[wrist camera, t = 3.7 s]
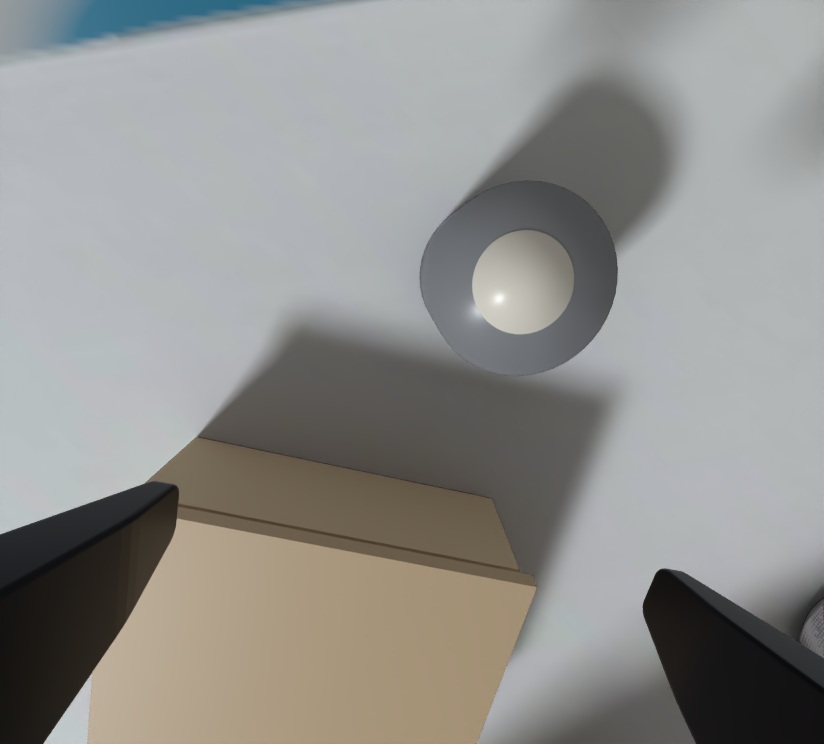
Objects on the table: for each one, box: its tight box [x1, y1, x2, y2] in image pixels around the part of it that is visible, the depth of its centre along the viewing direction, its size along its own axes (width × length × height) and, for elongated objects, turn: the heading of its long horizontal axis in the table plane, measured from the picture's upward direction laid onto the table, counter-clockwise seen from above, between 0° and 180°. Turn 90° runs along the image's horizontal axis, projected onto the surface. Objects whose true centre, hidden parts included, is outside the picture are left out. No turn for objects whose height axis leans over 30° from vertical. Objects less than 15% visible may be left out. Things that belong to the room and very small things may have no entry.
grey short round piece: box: [420, 181, 618, 376], centre depth 16 cm, size 6×6×5 cm
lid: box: [87, 507, 537, 744], centre depth 17 cm, size 15×14×1 cm
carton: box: [144, 437, 519, 572], centre depth 20 cm, size 14×14×5 cm
